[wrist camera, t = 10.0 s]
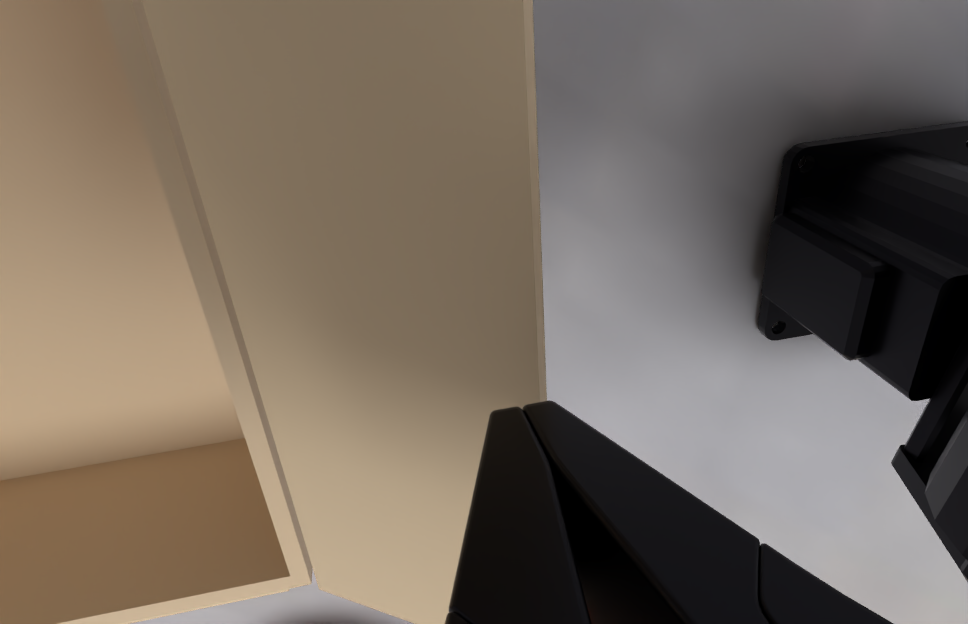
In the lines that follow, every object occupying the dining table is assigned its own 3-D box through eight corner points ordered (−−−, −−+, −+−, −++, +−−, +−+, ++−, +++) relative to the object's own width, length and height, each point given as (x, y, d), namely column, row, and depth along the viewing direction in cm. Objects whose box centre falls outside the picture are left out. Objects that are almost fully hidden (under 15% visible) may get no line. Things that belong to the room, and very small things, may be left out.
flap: (111, -102, 8) (130, -101, 8) (319, 589, 14) (326, 578, 15) (515, -171, 6) (526, -168, 6) (551, 672, 12) (555, 659, 13)
